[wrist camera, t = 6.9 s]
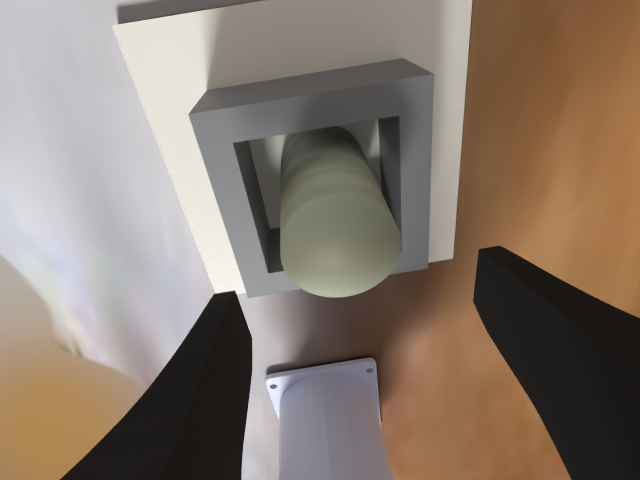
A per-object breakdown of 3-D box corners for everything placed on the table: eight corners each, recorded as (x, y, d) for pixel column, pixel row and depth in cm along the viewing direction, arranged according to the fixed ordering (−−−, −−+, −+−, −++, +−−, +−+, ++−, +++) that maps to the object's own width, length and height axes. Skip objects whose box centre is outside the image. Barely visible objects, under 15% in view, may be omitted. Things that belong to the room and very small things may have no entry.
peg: (365, 195, 19) (401, 288, 14) (288, 207, 19) (291, 304, 14) (361, 117, 17) (401, 190, 11) (273, 131, 17) (268, 210, 11)
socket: (449, 252, 23) (481, 303, 19) (218, 290, 23) (206, 348, 19) (468, -34, 15) (530, -43, 11) (117, 24, 15) (64, 34, 11)
